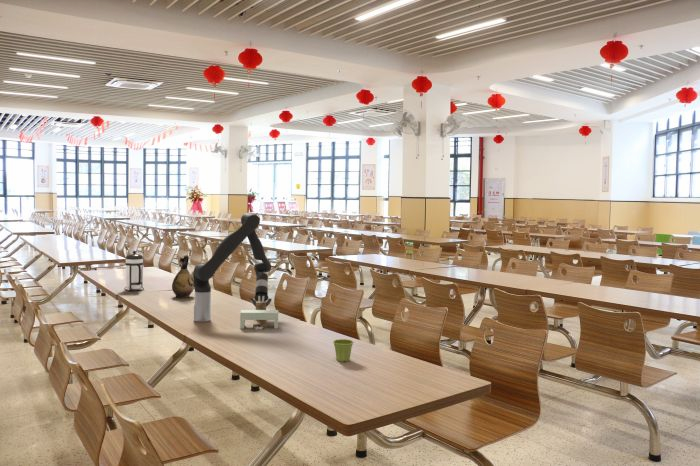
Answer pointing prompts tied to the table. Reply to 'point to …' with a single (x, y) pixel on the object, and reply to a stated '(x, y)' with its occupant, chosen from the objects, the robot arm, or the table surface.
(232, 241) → the robot arm
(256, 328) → the disc
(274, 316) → the pale green bench
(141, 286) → the coffee press
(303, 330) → the table surface
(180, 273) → the ceramic jug
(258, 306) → the brown wooden block
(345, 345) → the plant pot
